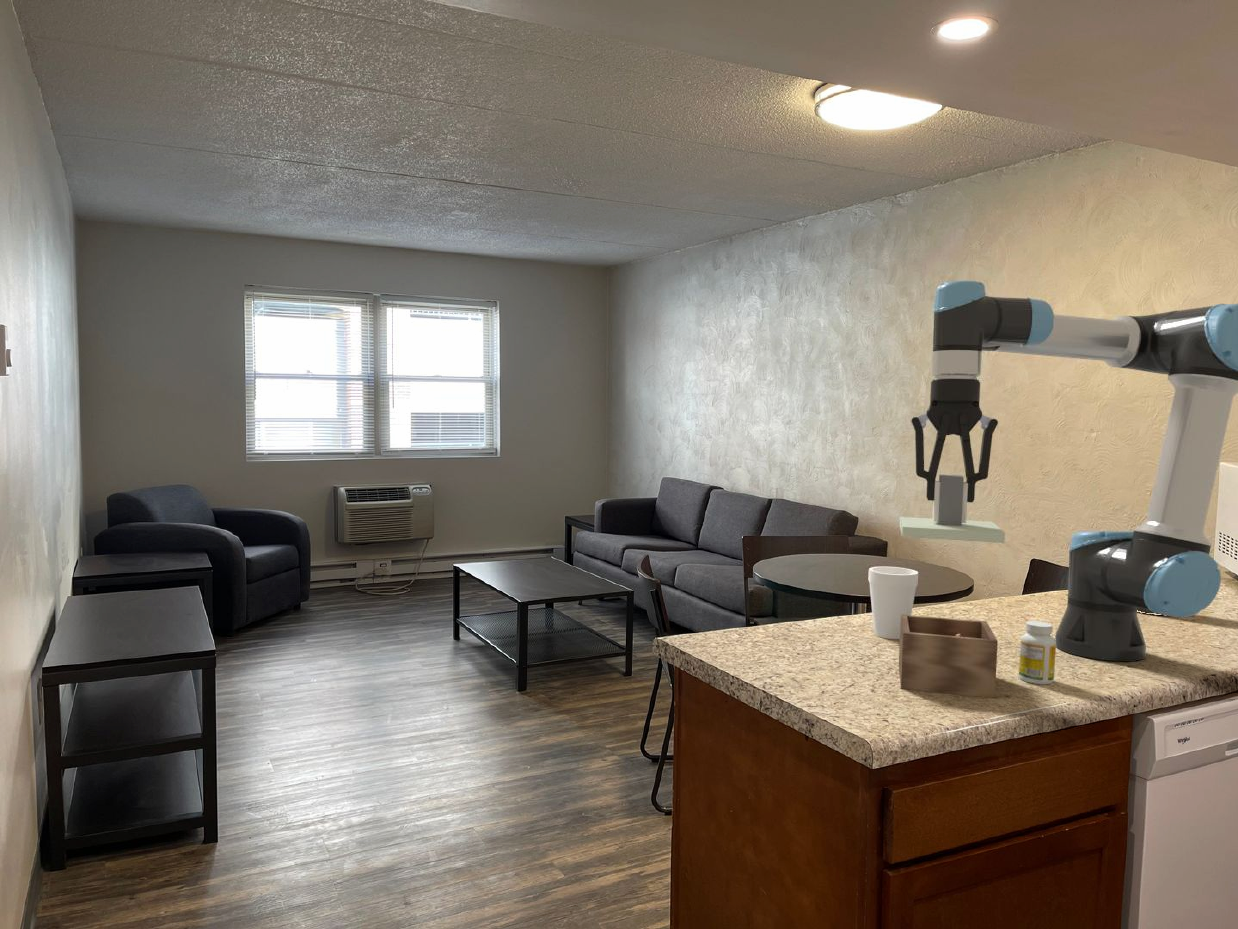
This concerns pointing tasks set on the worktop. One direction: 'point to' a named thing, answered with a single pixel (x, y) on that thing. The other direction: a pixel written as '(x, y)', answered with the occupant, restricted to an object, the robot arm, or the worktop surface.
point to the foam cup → (891, 598)
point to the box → (947, 656)
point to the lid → (951, 518)
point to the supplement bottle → (1037, 653)
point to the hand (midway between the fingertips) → (949, 521)
